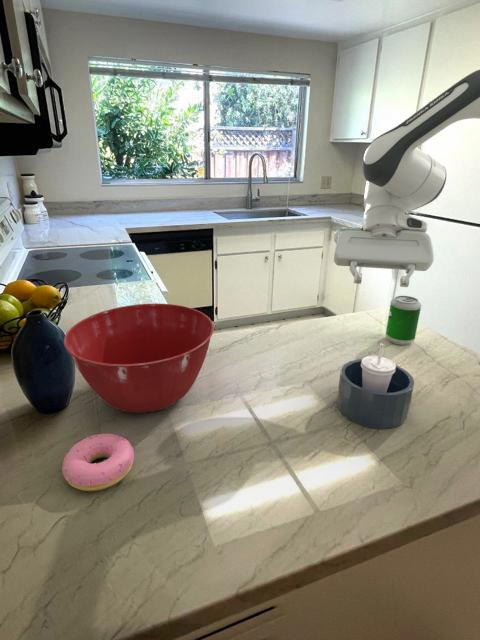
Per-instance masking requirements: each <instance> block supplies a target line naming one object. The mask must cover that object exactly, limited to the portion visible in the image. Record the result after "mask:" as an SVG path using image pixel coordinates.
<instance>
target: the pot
mask: <svg viewBox="0 0 480 640" xmlns="http://www.w3.org/2000/svg"><path fill="white" fill-rule="evenodd" d="M362 359H363V358H359V359H353V360H350V361H348V362H346V363H344V364H343V365H342V366H341V368H340V372H339V382H338V387H337V388H338V389H337V396H336V397H337V399H336V405H337V409H338V411H339V412H340V413H341V414H342V416H344V417H345V419H348V420H349V421H351V422H353V423H354V424H357V425H359V426H363V427H365V428H370V429H377V430H389V429H394V428H397V427H400V426H401V425H404V423H405V422H406V421H407V420H408V416H409V412H410V407H411V403H412V402H411V401H412V395H413V393H414V392H413V391H414V387H415V380H414V377H413V376H412V375H411V373H409V372H408V371H407V370H405V368H402V367H401V366H399V365H396V364H395V365H396V368H395V372H394V373H393V374H392V377H391V380H390V383H389V386H388V389H387V392H386V393H382V392H374V391H370V390H367V389H363V388H362V367H361V362H362Z"/></svg>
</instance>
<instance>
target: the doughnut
mask: <svg viewBox="0 0 480 640" xmlns="http://www.w3.org/2000/svg"><path fill="white" fill-rule="evenodd" d="M105 458H106V459H105ZM98 459H103V461H100V462H94V461H96V460H98ZM134 461H135V450H134V448H133V446H132V443H131V442H129V439H127V438H125V437H123V436H121V435H119V434H115V433H109V432H108V433H106V432H104V433H102V432H101V433H99V434H92V435H88V437H86V438H83V439H81V440H79V441H78V442H76V443H74V444H72V447H70V448H69V449H68V451H66V454H65V456H64V458H63V461H62V463H61V471H62V475H63V477H64V480H66V482H67V484H69V485H70V486H71V487H73V488H74V489H77V490H80V491H84V492H96V491H97V492H98V491H102V490H105V489H109V488H110V487H113V486H115V485H116V484H118V483H119V482H121V481H122V480H123V479H124V478H126V476H128V474H129V473H130V471H131V469H132V467H133V464H134ZM93 462H94V463H93Z"/></svg>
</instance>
